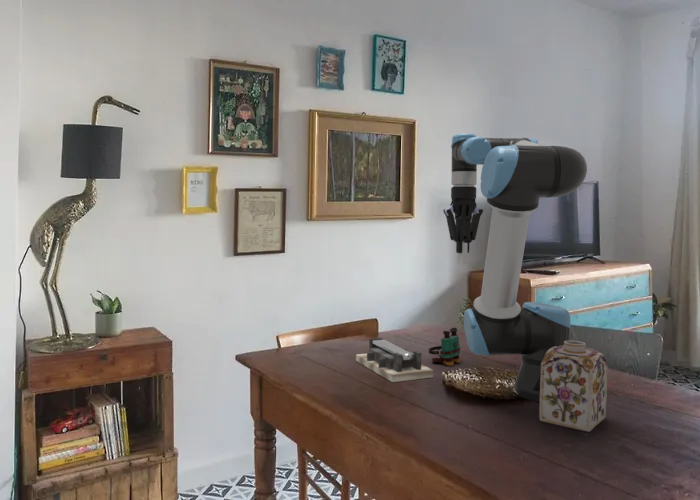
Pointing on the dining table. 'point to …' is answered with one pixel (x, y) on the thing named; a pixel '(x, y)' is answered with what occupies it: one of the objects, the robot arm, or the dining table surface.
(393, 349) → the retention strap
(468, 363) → the dining table surface
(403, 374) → the heatsink mount
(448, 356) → the binoculars
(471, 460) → the dining table surface
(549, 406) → the decorative jar
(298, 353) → the dining table surface
